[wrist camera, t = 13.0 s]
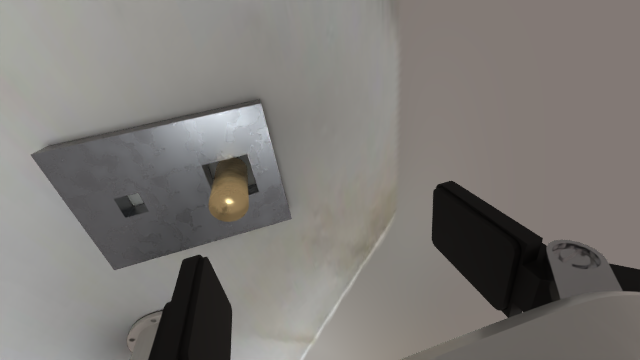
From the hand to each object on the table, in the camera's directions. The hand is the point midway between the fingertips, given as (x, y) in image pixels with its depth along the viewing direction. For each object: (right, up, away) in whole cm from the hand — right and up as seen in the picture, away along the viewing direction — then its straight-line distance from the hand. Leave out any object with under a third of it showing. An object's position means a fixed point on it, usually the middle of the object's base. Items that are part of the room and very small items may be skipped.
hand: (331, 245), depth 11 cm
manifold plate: (-19, +2, +28) cm, 34 cm away
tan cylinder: (-13, +4, +29) cm, 32 cm away
